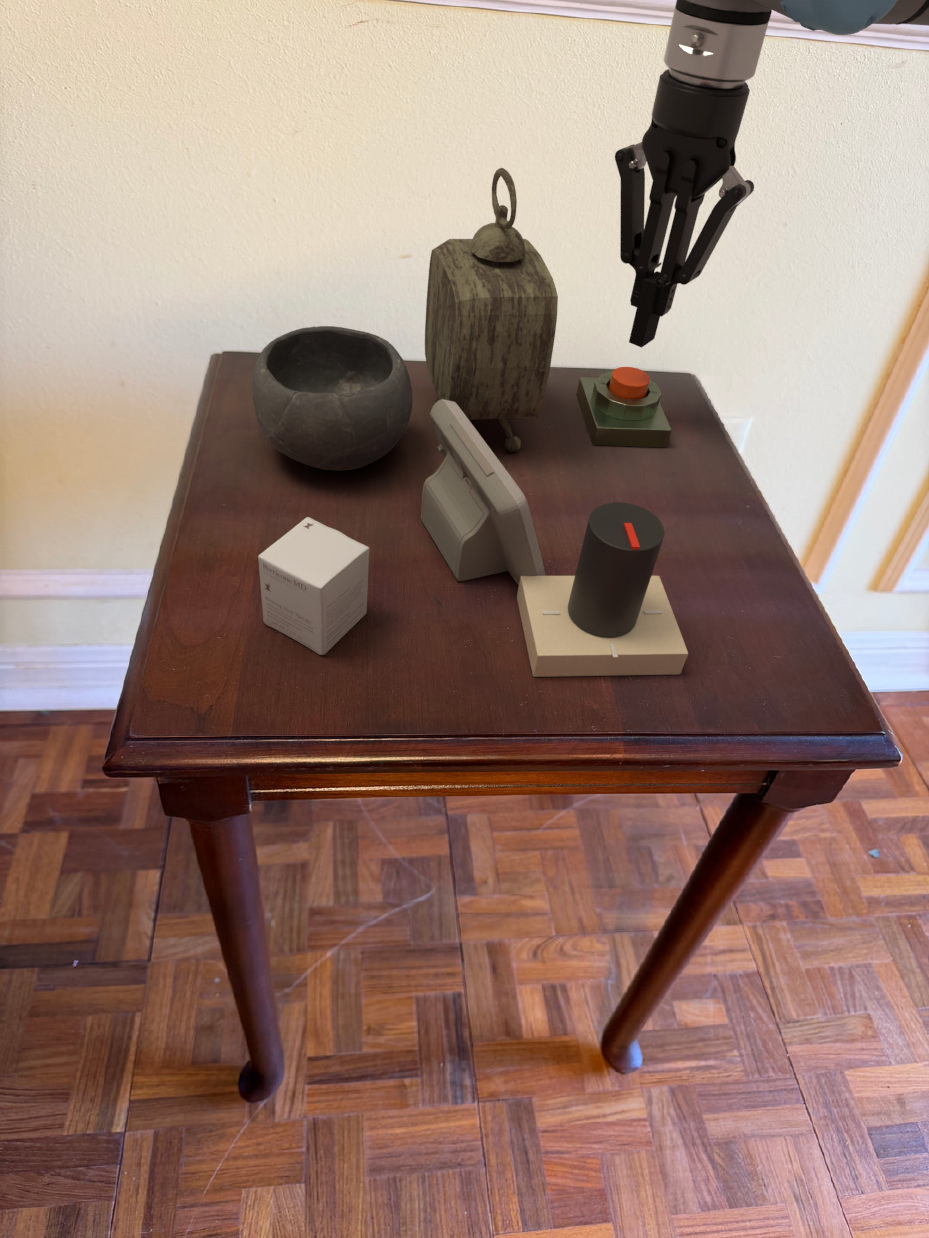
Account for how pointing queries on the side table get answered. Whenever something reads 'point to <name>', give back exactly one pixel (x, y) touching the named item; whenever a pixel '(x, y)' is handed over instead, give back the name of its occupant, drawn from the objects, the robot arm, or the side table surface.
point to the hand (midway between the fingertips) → (641, 340)
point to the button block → (622, 415)
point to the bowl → (332, 396)
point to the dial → (614, 568)
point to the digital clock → (476, 505)
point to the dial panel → (582, 654)
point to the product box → (314, 584)
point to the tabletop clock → (491, 321)
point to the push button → (629, 383)
